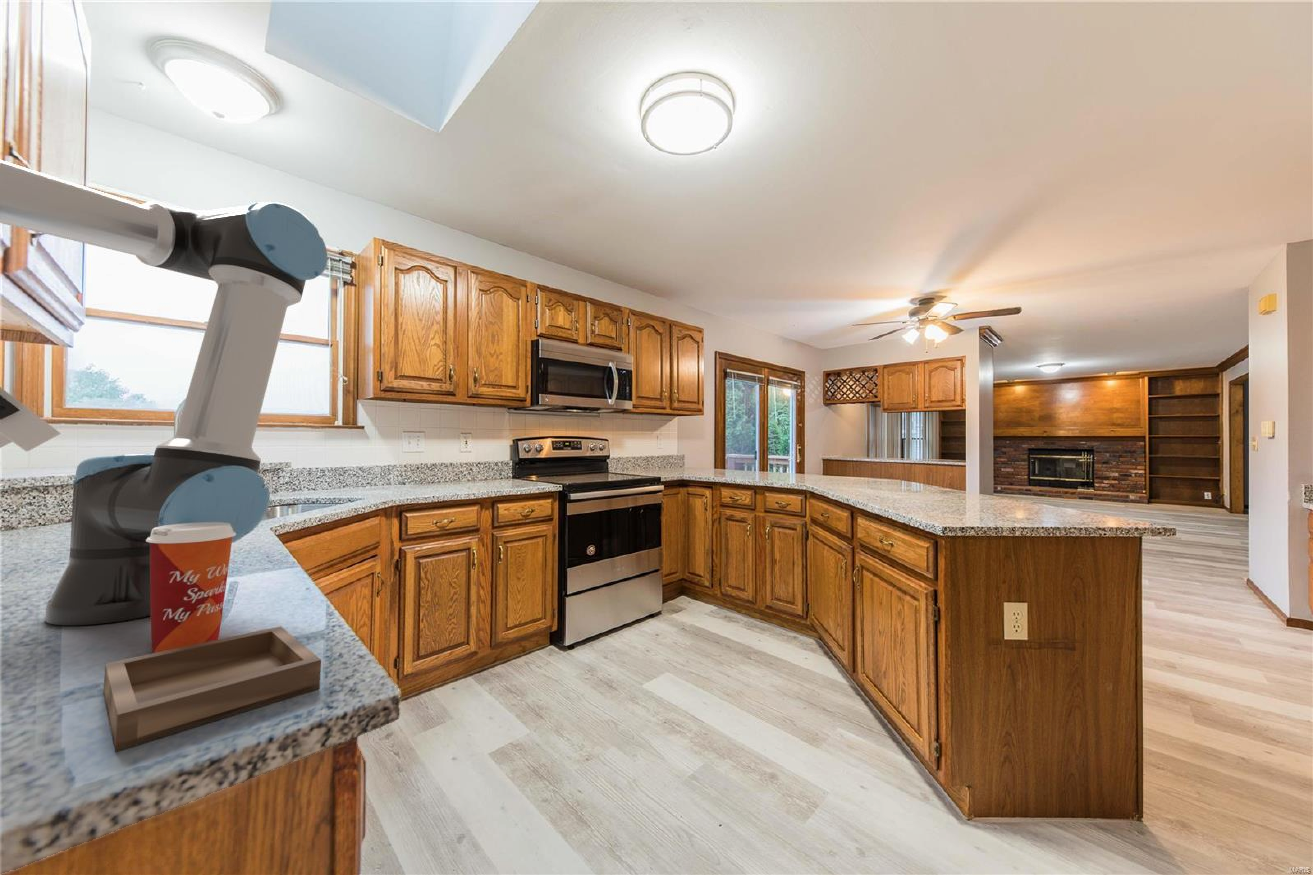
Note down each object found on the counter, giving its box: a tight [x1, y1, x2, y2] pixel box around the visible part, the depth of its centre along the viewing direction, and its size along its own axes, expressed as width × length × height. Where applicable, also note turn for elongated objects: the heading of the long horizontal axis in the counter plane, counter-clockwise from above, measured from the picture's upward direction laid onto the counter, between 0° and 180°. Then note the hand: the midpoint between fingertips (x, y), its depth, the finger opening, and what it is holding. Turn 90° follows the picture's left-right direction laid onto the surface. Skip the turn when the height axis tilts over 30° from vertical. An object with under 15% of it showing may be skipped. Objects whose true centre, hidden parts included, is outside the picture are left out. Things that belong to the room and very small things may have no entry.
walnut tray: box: [102, 626, 322, 752], centre depth 50 cm, size 14×14×3 cm
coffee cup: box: [146, 522, 236, 654], centre depth 61 cm, size 8×8×15 cm
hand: (27, 442), depth 51 cm, fingers open, 13 cm apart
